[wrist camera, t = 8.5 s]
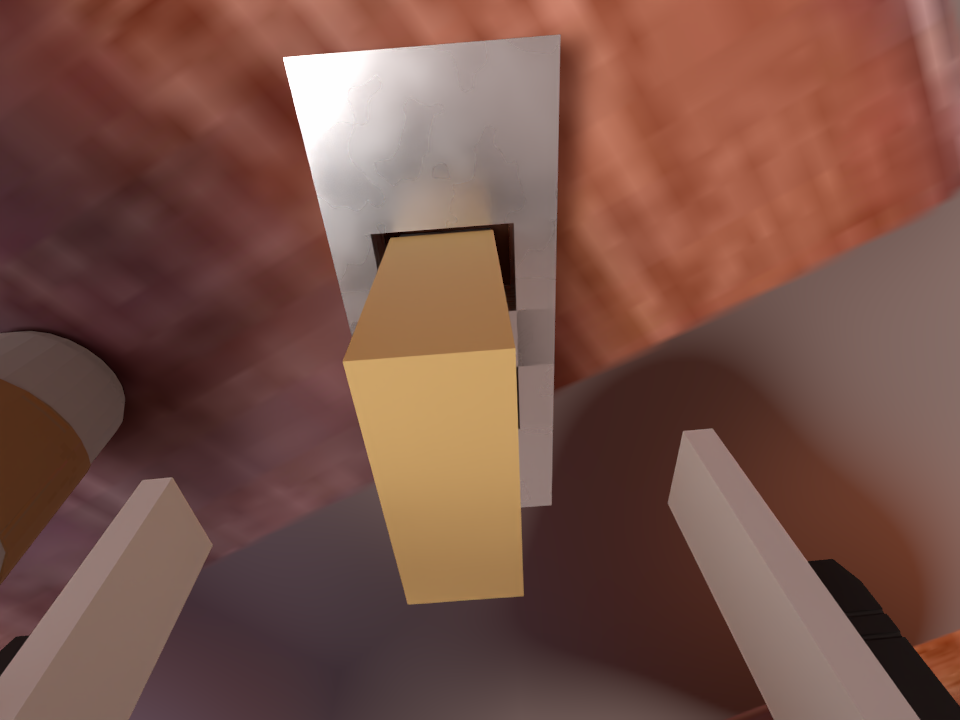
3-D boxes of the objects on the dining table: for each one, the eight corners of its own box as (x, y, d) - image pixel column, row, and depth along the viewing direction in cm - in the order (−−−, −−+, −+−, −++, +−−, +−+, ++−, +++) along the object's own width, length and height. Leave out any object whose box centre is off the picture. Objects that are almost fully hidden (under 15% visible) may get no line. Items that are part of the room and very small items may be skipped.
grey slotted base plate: (544, 469, 26) (551, 505, 24) (401, 480, 27) (396, 516, 24) (547, 37, 16) (560, 34, 14) (306, 57, 16) (282, 57, 14)
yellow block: (500, 396, 23) (523, 596, 15) (427, 402, 23) (407, 604, 15) (489, 212, 18) (515, 348, 10) (397, 219, 18) (342, 361, 10)
